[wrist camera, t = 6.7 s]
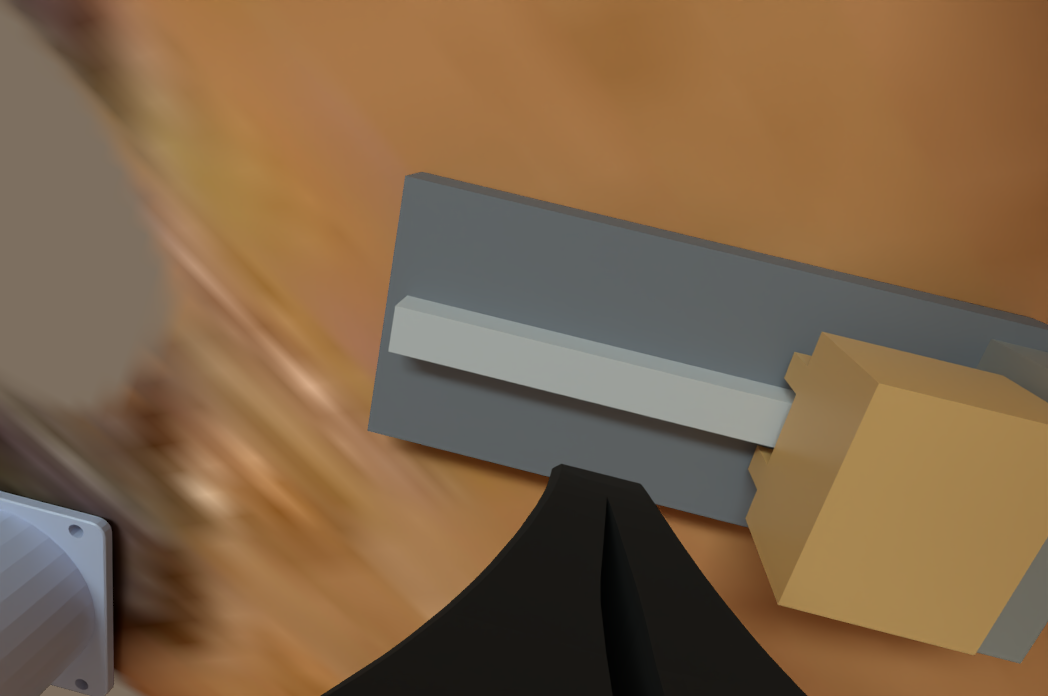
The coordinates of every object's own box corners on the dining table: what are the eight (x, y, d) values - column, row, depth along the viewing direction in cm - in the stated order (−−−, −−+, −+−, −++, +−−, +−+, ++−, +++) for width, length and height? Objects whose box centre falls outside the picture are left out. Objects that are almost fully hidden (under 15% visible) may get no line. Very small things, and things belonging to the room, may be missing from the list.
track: (384, 408, 19) (313, 500, 14) (422, 171, 16) (350, 188, 12) (914, 542, 18) (1023, 684, 14) (1032, 318, 16) (1213, 397, 11)
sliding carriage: (737, 496, 16) (777, 604, 13) (807, 319, 15) (879, 382, 11) (888, 534, 16) (974, 655, 13) (977, 359, 15) (1108, 439, 11)
